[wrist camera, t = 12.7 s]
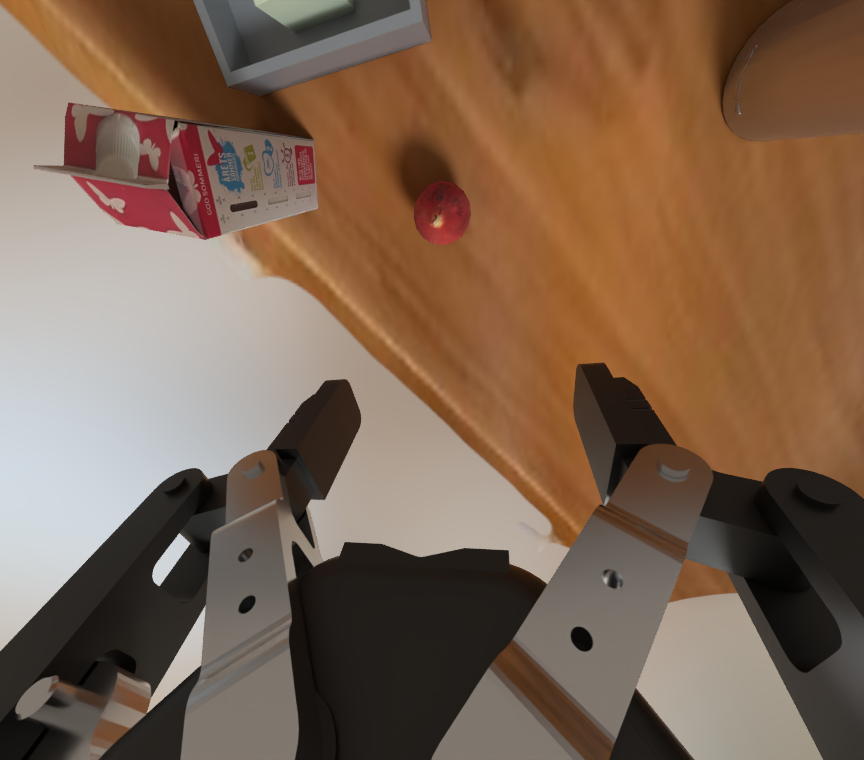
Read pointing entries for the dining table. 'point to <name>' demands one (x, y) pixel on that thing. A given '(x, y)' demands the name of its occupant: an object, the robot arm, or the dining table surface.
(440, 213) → the onion
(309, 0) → the small crate
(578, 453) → the dining table surface
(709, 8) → the dining table surface
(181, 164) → the milk carton
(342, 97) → the dining table surface
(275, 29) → the big crate
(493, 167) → the dining table surface
